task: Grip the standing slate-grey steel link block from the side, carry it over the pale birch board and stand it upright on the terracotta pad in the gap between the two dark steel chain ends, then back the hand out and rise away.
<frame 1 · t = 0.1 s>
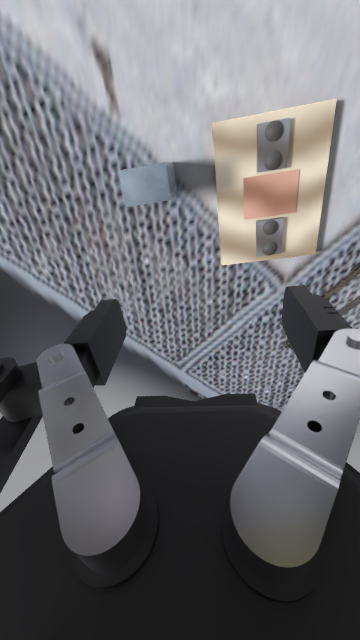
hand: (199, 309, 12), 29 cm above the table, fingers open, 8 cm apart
chain board: (267, 194, 35), on the table
hacksaw: (329, 292, 43), on the table
link block: (157, 180, 35), on the table
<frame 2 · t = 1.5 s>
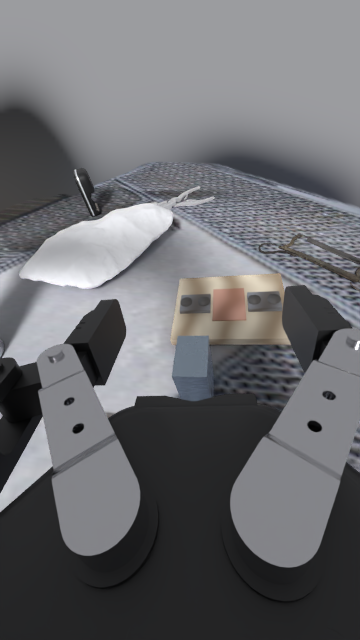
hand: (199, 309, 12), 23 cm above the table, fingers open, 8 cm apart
chain board: (228, 310, 42), on the table
crumpled cloth: (107, 257, 59), on the table
hacksaw: (321, 265, 46), on the table
link block: (200, 394, 34), on the table
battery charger: (96, 211, 76), on the table
pliers: (183, 203, 71), on the table
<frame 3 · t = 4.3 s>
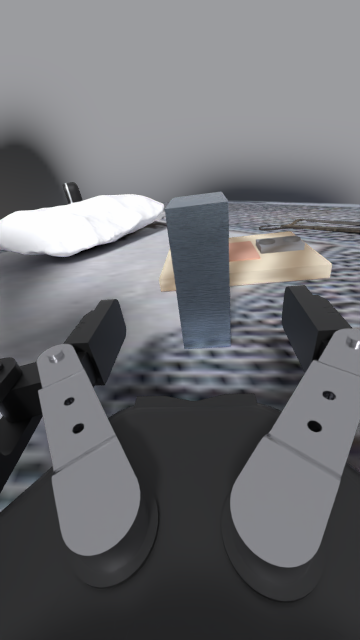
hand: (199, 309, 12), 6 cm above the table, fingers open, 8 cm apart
chain board: (234, 262, 33), on the table
crumpled cloth: (87, 247, 52), on the table
hacksaw: (333, 233, 41), on the table
link block: (206, 329, 21), on the table
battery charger: (83, 226, 73), on the table
pliers: (173, 217, 70), on the table
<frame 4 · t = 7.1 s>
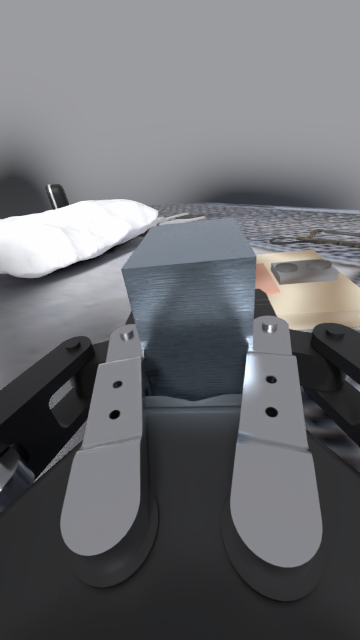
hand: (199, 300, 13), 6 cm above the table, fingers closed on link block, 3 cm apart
chain board: (243, 292, 26), on the table
crumpled cloth: (69, 260, 45), on the table
link block: (207, 420, 14), on the table, touching gripper
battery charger: (70, 233, 66), on the table
pliers: (170, 223, 63), on the table
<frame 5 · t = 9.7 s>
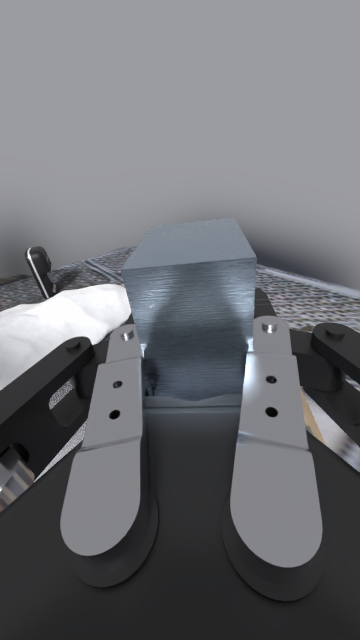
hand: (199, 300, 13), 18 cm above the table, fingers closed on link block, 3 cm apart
chain board: (223, 460, 23), on the table
crumpled cloth: (46, 353, 42), on the table
link block: (207, 421, 14), point 12 cm above the table, touching gripper
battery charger: (53, 293, 63), on the table
when the fingers open (9 cm above the table, at t = 12.5 s): link block drops 1 cm, resting on chain board.
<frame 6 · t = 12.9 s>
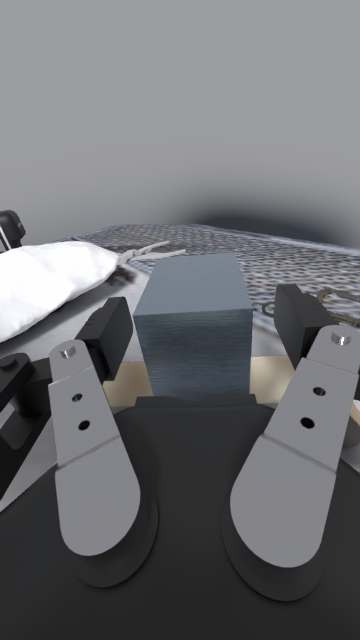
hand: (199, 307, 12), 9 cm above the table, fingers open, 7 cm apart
chain board: (210, 452, 16), on the table
crumpled cloth: (1, 323, 34), on the table
link block: (209, 435, 15), point 2 cm above the table, touching chain board
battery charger: (28, 266, 56), on the table
pliers: (144, 257, 52), on the table
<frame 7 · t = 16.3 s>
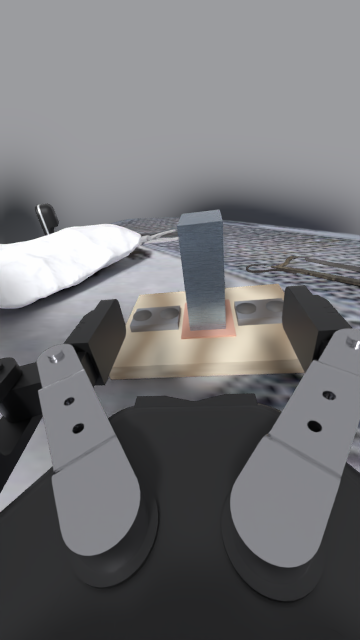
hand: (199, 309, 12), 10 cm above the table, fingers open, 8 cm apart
chain board: (208, 329, 27), on the table
crumpled cloth: (55, 284, 46), on the table
hacksaw: (331, 281, 35), on the table
link block: (207, 316, 27), point 2 cm above the table, touching chain board
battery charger: (60, 250, 68), on the table
pliers: (155, 242, 64), on the table
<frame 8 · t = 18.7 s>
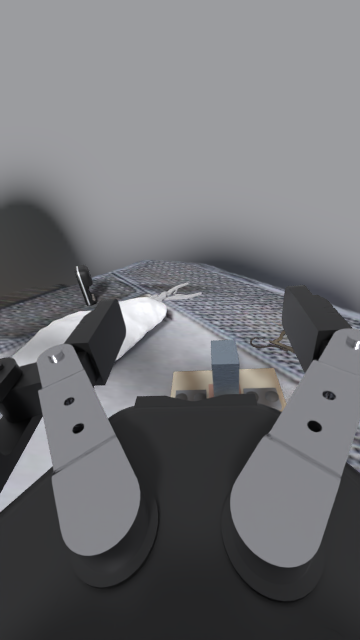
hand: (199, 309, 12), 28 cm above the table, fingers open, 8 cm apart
chain board: (225, 407, 40), on the table
crumpled cloth: (100, 346, 59), on the table
link block: (225, 400, 39), point 2 cm above the table, touching chain board
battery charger: (92, 301, 80), on the table
pliers: (173, 297, 77), on the table
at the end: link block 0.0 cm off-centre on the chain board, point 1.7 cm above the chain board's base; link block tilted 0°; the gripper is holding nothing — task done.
